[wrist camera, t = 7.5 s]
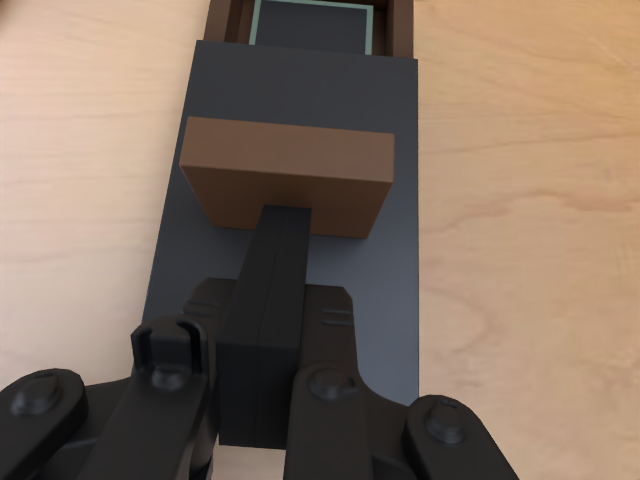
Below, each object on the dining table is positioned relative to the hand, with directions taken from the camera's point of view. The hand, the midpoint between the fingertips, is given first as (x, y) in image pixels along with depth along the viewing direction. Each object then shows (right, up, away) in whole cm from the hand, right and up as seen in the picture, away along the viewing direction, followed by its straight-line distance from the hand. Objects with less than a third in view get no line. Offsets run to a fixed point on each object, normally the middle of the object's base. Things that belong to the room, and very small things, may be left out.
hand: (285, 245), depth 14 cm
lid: (0, +1, +3) cm, 4 cm away
